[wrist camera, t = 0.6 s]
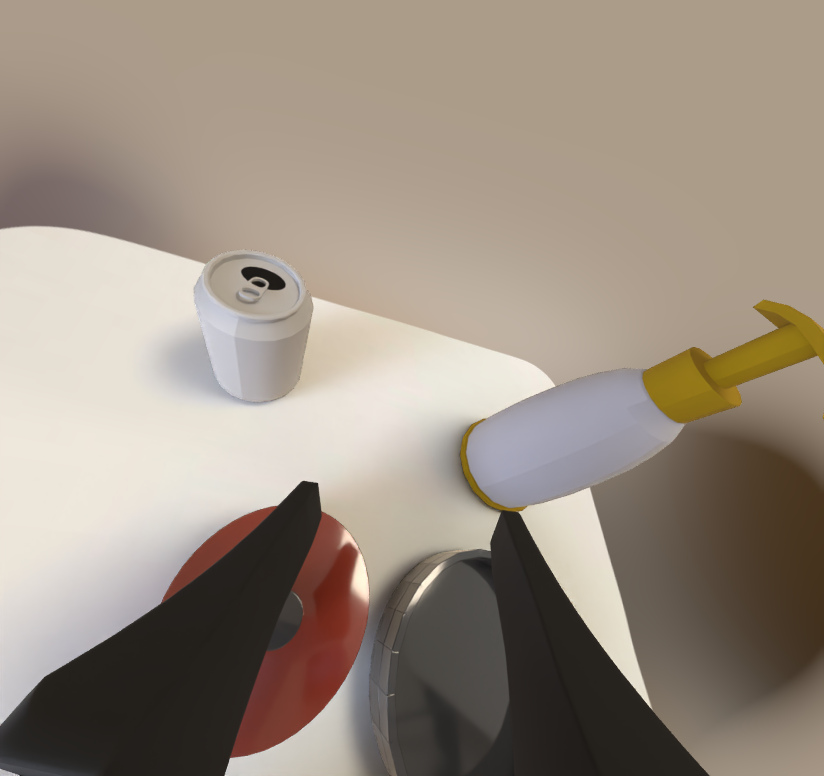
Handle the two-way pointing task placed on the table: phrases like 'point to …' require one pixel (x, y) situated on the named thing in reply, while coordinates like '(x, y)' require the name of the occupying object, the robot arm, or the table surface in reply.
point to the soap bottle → (619, 416)
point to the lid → (298, 630)
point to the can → (254, 323)
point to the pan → (442, 672)
